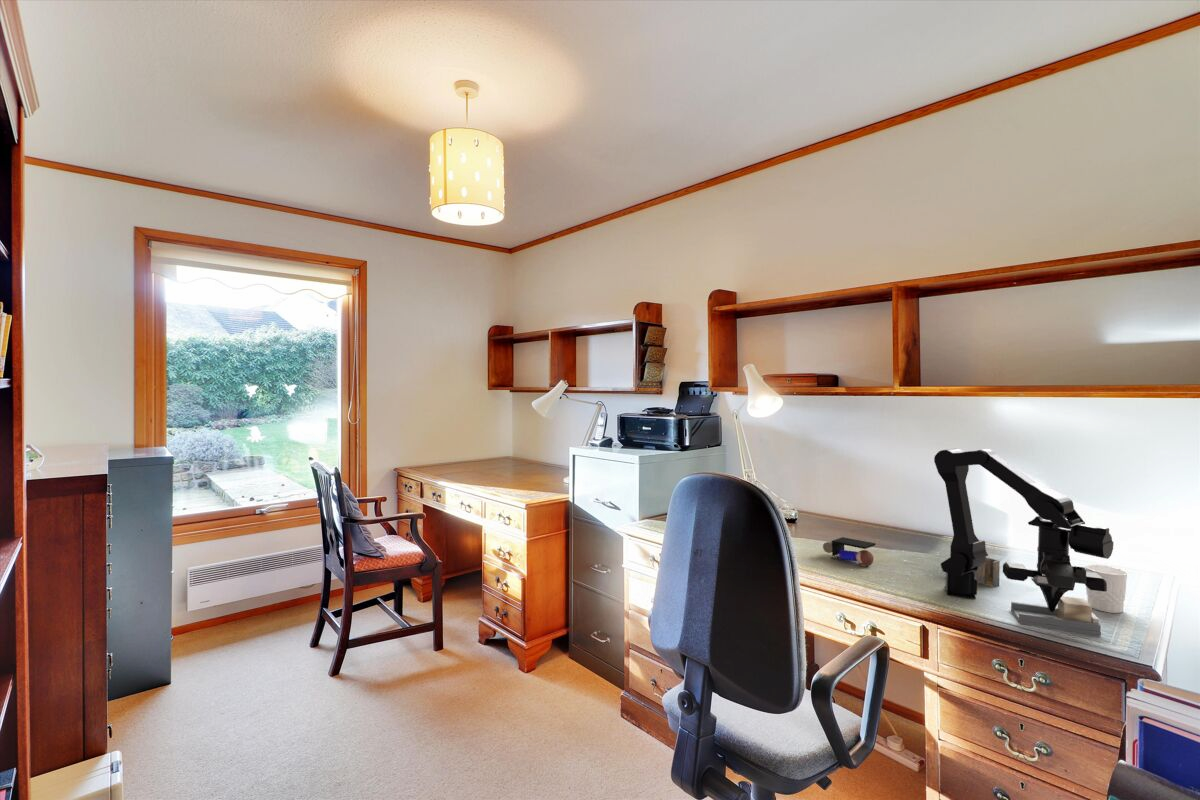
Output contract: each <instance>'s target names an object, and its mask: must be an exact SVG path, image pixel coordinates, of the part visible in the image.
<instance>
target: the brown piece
mask: <svg viewBox="0 0 1200 800" xmlns="http://www.w3.org/2000/svg"><path fill="white" fill-rule="evenodd" d="M1000 564H1001V563H1000V560H999V559H998V560H997V559H995V558H990V557H988V556H986V561H985V562H984V564H983V565H981V566H979V568H978V570H977V571H974V572H973V573H974V574H975V578H976V580H977V584H981V585H984V586H988V587H991V588H997V587H1000Z"/></svg>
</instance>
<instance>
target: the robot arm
mask: <svg viewBox="0 0 1200 800" xmlns="http://www.w3.org/2000/svg"><path fill="white" fill-rule="evenodd" d="M933 461H934V465H935V467H936V471H937V473H938V475H939V476H940V477H941V479H942V480H943V482H944V484H945V489H946V495H947V496H946V497H947V502H948V508H949V513H950V520H951V527H952V531H953V537H952V541H951V543H950V548H949V549H950V552H949V553H950V557H948V558H947V559H945V560H944V561H943V562H941V563H940V566H941V569H942V572H943V573H945V585H944V590H945V593H946V595H947V596H949V597H950V596H951V597H957V598H966V599H971V600H975V599H976V598H977V597H976V596H977V594H978V583H977V580H976V578H975V574H974V573H973V572H974V571H977V570H978V568H979V566H981V565H983V564H984V562H985V561H986V557H988V556H989V554H988V553H987V549H986V542H985V541H986V540H979V539H978V537H977V536H976V534H975V531H974V530H975V529H974V523H973V518H972V511H971V506H970V500H969V493H968V490H967V484H966V483H967V482H966V480H967V477H968V474H969V466H976V465H979V466H981V467H982V468H983V469H985V470H986V471H988V472H989V473H991V474H992V475H993V476H995V477H996V478H997V479H999V480H1000V481H1002V482H1003V483H1004V484H1005V485H1007V486H1008V487H1009V488H1011V489H1013V491H1015V492H1016V493H1018V494H1019V495H1020V496H1021V497H1022V498H1023V499H1024V501H1025V502H1026V503H1027V505H1028V506H1029V507H1030V509H1032V510H1033V511H1034V512H1035V513H1036V514H1037V515H1036V516H1035V518H1033V519H1031V520H1029V521H1028V522H1027V524H1028V525H1029V526H1032V527H1038V533H1037V535H1038V538H1037V539H1038V540H1037V541H1038V542H1037V550H1036V551H1037V563H1036V568H1037V569H1031V568H1026V566H1025V565H1024V564H1023V563H1018V562H1011V561H1010V562H1008V561H1005V562H1004V563H1003V564H1002V573H1003V574H1004V576H1005V577H1006V579H1008V580H1013V581H1020V582H1025V581H1026V580H1028V578H1031V582H1033V583H1034V584H1035V585H1036V586H1037V587H1039V589H1040V591H1041V593H1042V595H1043V598H1044V600H1045V603H1046V606H1048V608H1049V611H1050V612H1054V610H1055V608H1056V607H1058V602H1059V600H1060V598H1061V597H1062V596H1064V595H1065V593H1067V592H1068V591H1071V592H1072V591H1074V590H1075V586H1076V584H1083V585H1085V587H1086V586H1087V587H1088V588H1089V589H1090V590H1096V591H1104V592H1105V591H1107V583H1106V581H1105V580H1104V579H1103V578H1102V577H1101V576H1100V575H1098V574H1097V573H1094V572H1086V570H1085V567H1083V566H1075V565H1073V566H1072V564H1071V559H1070V558H1071V556H1070V555H1069V553H1070V549H1071V550H1073V551H1074V552H1075V553H1079V554H1083V555H1086V556H1088V555H1089V556H1091V557H1092V556H1093V557H1097V558H1101V559H1109V558H1110V557H1112V554H1113V550H1114V541H1113V538H1112V535H1111V534H1110V528H1109V527H1105V526H1094V525H1089V524H1086V522H1085V521H1084V520H1083V518H1082V517H1081V516H1080V514H1079V513H1078V512H1077V511H1076V509H1075V506H1074V502H1073V500H1072V499H1071V498H1070V497H1068V496H1067V495H1065V494H1063V493H1061V492H1059V491H1057V490H1055V489H1052V488H1050V487H1047V486H1044V485H1042V484H1040V483H1038V482H1036V481H1035V480H1033V478H1030V477H1029V476H1028V475H1027V474H1025V473H1024V472H1023V471H1021V470H1019V469H1018V468H1016V467H1015V466H1013V464H1011V463H1009V462H1008V461H1006V460H1005V459H1003V458H1002V457H1001V456H1000V455H998V454H997V453H996V452H995V451H994V450H992V449H990V448H985V449H978V450H971V451H970V450H969V451H964V450H962V449H960V448H949V449H948V448H947V449H942V450H939V451H938V452H937V453H936V454H935V455H934V458H933Z"/></svg>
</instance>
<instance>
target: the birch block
mask: <svg viewBox="0 0 1200 800" xmlns="http://www.w3.org/2000/svg"><path fill="white" fill-rule="evenodd" d="M1057 608H1058V609H1057V616H1058V617H1059V618H1062V619H1070V620H1077V621H1084V622H1091V620H1092V613H1093V612H1092V611H1093V608H1092V606H1091V605H1090V604H1089V603H1088V602H1087V600H1086V599H1085V598H1079V597H1073V596H1064V595H1063V596H1062V597H1061V598H1060V600H1059V602H1058V604H1057Z"/></svg>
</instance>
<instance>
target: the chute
mask: <svg viewBox="0 0 1200 800" xmlns="http://www.w3.org/2000/svg"><path fill="white" fill-rule="evenodd" d="M1010 604H1011V605H1010V611H1011V613H1012V614H1013V615H1014V617H1015V618H1017V619H1016V620H1017V622H1018V621H1019V622H1018V623H1019V624H1020V625H1026V626H1031V625H1033V626H1032V627H1038V626H1041V627H1040V628H1045V627H1048V628H1047V629H1051V628H1053V629H1052V630H1058V629H1061V630H1060V631H1065V630H1066V631H1065V632H1073V633H1079V634H1087V635H1094V636H1100V637H1101V636H1102V632H1101V628H1102V627H1101V626H1102V625H1101V624H1100V618H1098V616H1096V614H1095V613H1093V612H1092V620H1091V622H1084V621H1077V620H1070V619H1062V618H1059V617H1058V616H1057V609H1058V606H1056V608H1055V610H1054V612H1050V611H1049V608H1048V606H1047V605H1040V604H1033V603H1025V602H1020V601H1019V602H1018V601H1013V600H1012V601H1011V602H1010Z"/></svg>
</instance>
